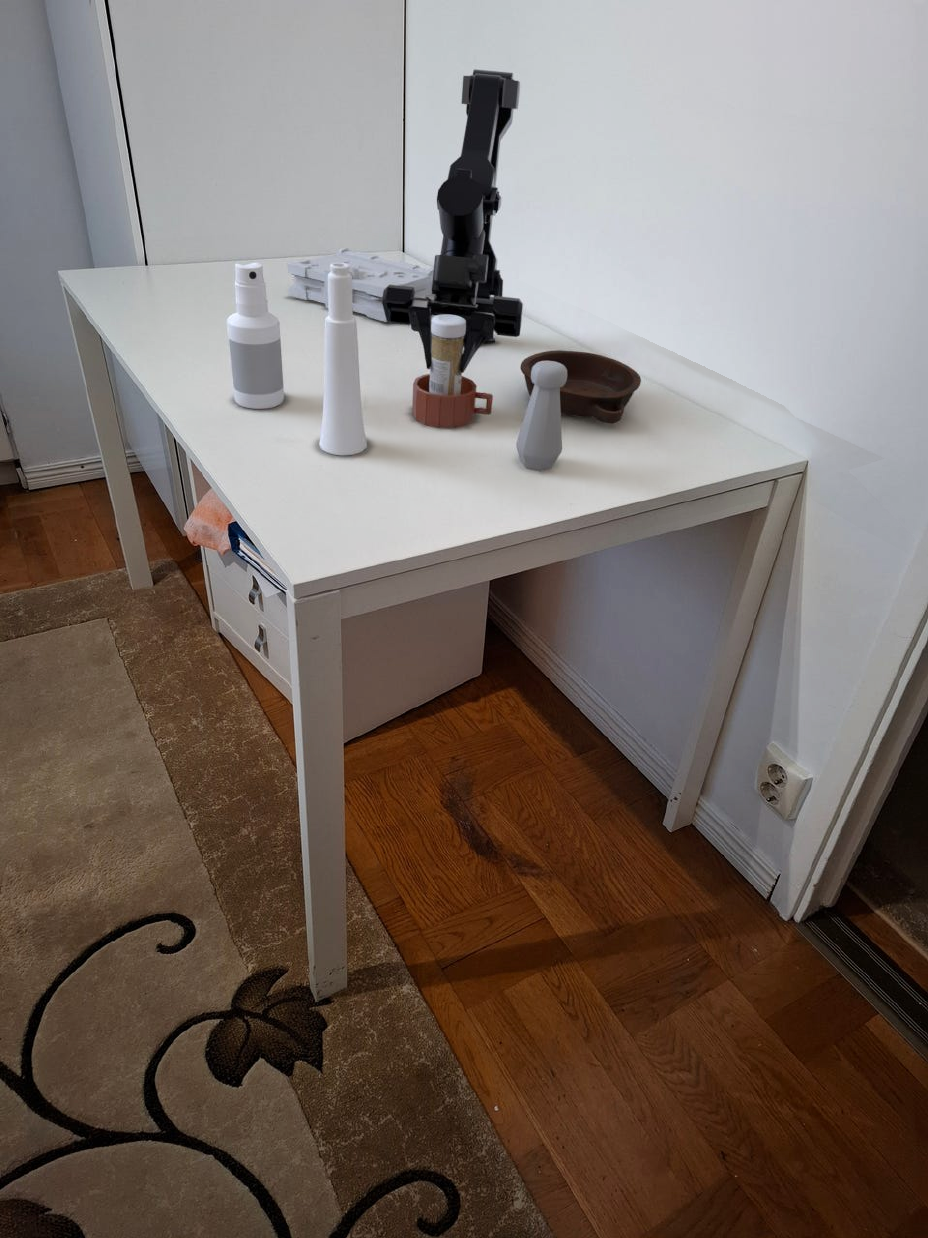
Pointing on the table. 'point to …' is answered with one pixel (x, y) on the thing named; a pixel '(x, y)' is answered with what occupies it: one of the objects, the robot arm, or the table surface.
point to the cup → (447, 404)
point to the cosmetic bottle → (341, 370)
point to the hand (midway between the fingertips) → (444, 369)
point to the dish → (589, 383)
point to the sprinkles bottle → (446, 354)
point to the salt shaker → (542, 418)
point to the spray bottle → (254, 343)
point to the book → (359, 279)
